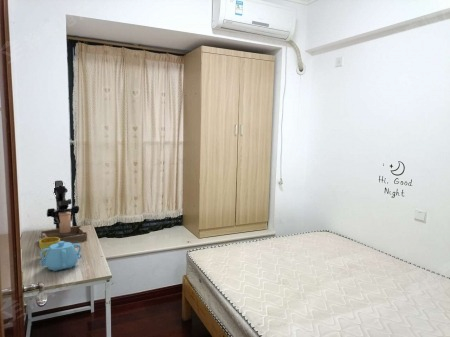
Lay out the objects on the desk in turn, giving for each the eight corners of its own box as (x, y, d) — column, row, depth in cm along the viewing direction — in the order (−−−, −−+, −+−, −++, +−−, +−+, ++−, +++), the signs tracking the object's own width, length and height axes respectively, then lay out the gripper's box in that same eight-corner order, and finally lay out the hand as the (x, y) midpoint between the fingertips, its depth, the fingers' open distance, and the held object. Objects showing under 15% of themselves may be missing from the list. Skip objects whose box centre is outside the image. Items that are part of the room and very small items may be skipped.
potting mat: (59, 245, 195) (59, 244, 195) (76, 242, 202) (76, 241, 202) (62, 249, 188) (62, 249, 188) (80, 246, 194) (80, 246, 194)
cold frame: (41, 239, 204) (41, 231, 203) (80, 233, 219) (80, 225, 219) (46, 247, 191) (46, 237, 191) (87, 239, 207) (87, 231, 206)
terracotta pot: (57, 230, 203) (57, 212, 202) (69, 229, 208) (69, 210, 206) (60, 233, 198) (60, 214, 196) (72, 231, 202) (72, 212, 201)
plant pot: (53, 260, 172) (53, 243, 171) (35, 259, 172) (35, 242, 171) (64, 253, 182) (63, 237, 181) (46, 252, 183) (46, 236, 182)
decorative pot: (62, 275, 154) (61, 249, 153) (36, 270, 158) (35, 244, 157) (85, 263, 170) (85, 239, 168) (61, 259, 174) (60, 235, 173)
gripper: (47, 196, 197) (50, 217, 190) (78, 193, 209) (83, 213, 202) (44, 206, 204) (48, 226, 197) (75, 203, 216) (80, 222, 209)
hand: (65, 221), depth 201 cm, fingers closed on terracotta pot, 7 cm apart
